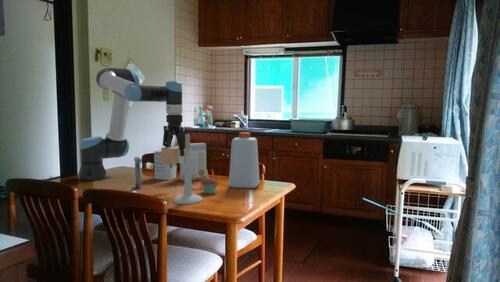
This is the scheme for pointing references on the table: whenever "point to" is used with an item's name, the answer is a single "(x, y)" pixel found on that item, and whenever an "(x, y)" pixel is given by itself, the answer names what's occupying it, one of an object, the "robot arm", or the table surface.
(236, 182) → the plastic bottle
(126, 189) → the table surface
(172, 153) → the tan rectangular block
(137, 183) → the t key
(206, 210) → the table surface
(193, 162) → the cracker box
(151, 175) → the table surface
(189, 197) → the candlestick
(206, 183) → the cupcake
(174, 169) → the supplement box
